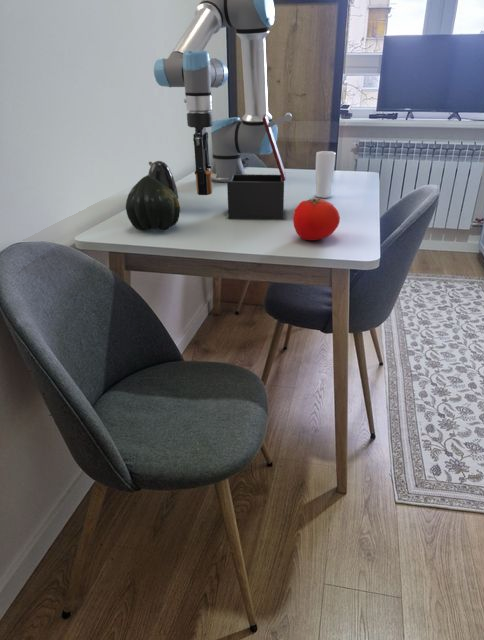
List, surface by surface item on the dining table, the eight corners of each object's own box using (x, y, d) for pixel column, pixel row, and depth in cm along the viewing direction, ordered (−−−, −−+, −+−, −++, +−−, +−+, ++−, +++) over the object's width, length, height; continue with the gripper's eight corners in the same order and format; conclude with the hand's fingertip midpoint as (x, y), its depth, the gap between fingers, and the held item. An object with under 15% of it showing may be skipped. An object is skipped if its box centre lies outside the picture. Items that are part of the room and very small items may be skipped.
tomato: (304, 229, 138) (306, 191, 132) (344, 235, 132) (348, 196, 127) (282, 241, 128) (283, 201, 122) (325, 249, 122) (327, 207, 117)
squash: (159, 220, 125) (171, 169, 128) (110, 218, 130) (122, 168, 132) (181, 243, 139) (191, 196, 142) (136, 240, 143) (146, 195, 146)
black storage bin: (228, 218, 147) (227, 181, 141) (232, 209, 157) (230, 174, 152) (283, 219, 147) (284, 182, 141) (283, 209, 157) (284, 174, 151)
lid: (262, 118, 132) (289, 107, 131) (263, 115, 143) (288, 105, 141) (282, 181, 141) (308, 171, 139) (282, 173, 151) (306, 164, 149)
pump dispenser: (167, 204, 163) (162, 157, 155) (185, 209, 156) (181, 160, 148) (141, 209, 156) (135, 160, 149) (159, 215, 150) (153, 164, 142)
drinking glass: (331, 199, 169) (335, 154, 162) (312, 198, 170) (315, 153, 163) (333, 194, 175) (336, 151, 167) (314, 194, 176) (317, 150, 168)
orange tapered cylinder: (197, 190, 155) (196, 170, 151) (214, 191, 155) (212, 170, 151) (195, 195, 150) (193, 174, 147) (211, 195, 150) (210, 174, 147)
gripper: (191, 109, 148) (197, 186, 160) (181, 114, 133) (188, 199, 145) (215, 109, 148) (219, 186, 160) (207, 114, 132) (212, 199, 144)
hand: (204, 192), depth 152 cm, fingers closed on orange tapered cylinder, 5 cm apart
